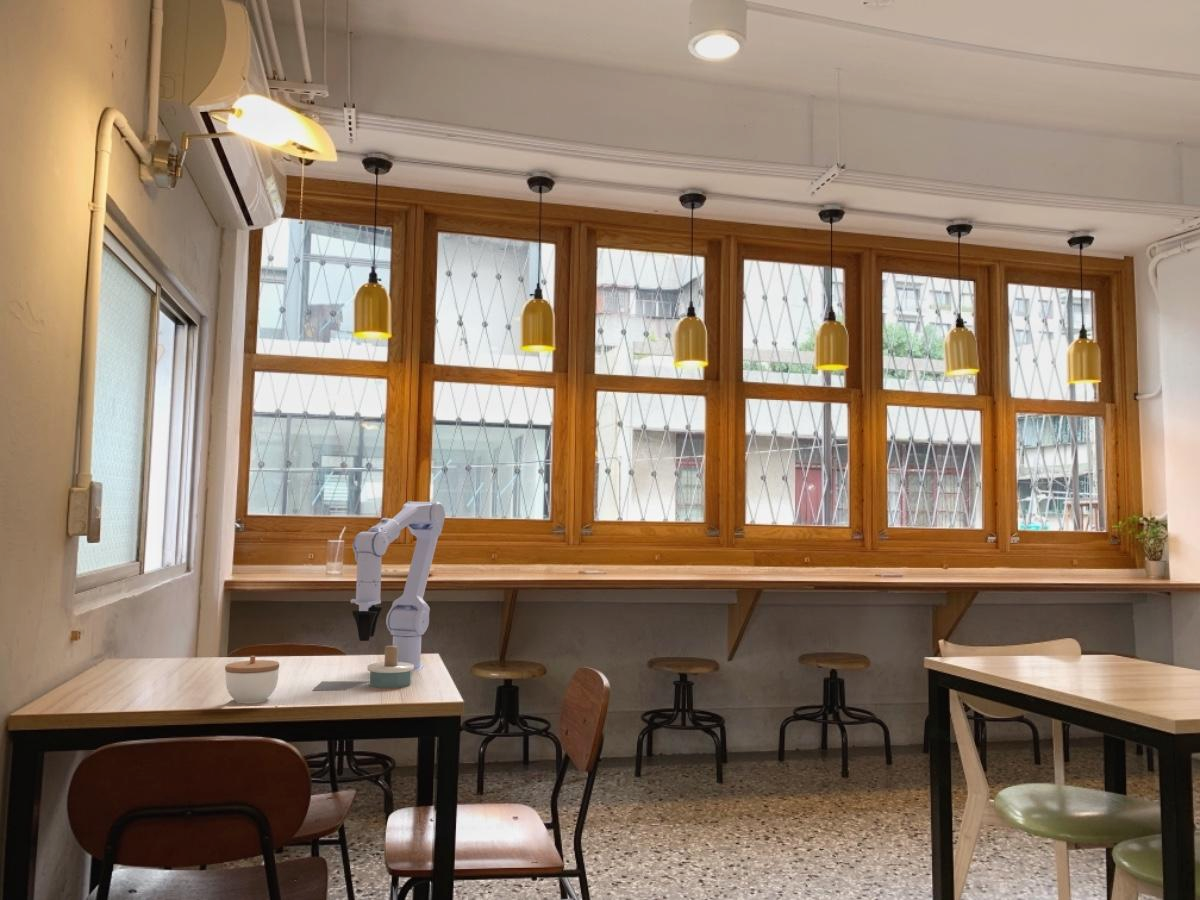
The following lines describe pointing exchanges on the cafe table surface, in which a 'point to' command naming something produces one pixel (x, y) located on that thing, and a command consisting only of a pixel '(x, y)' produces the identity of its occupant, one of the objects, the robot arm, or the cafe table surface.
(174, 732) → the cafe table surface
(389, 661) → the lid
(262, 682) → the lidded jar
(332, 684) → the mat
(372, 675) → the bowl
